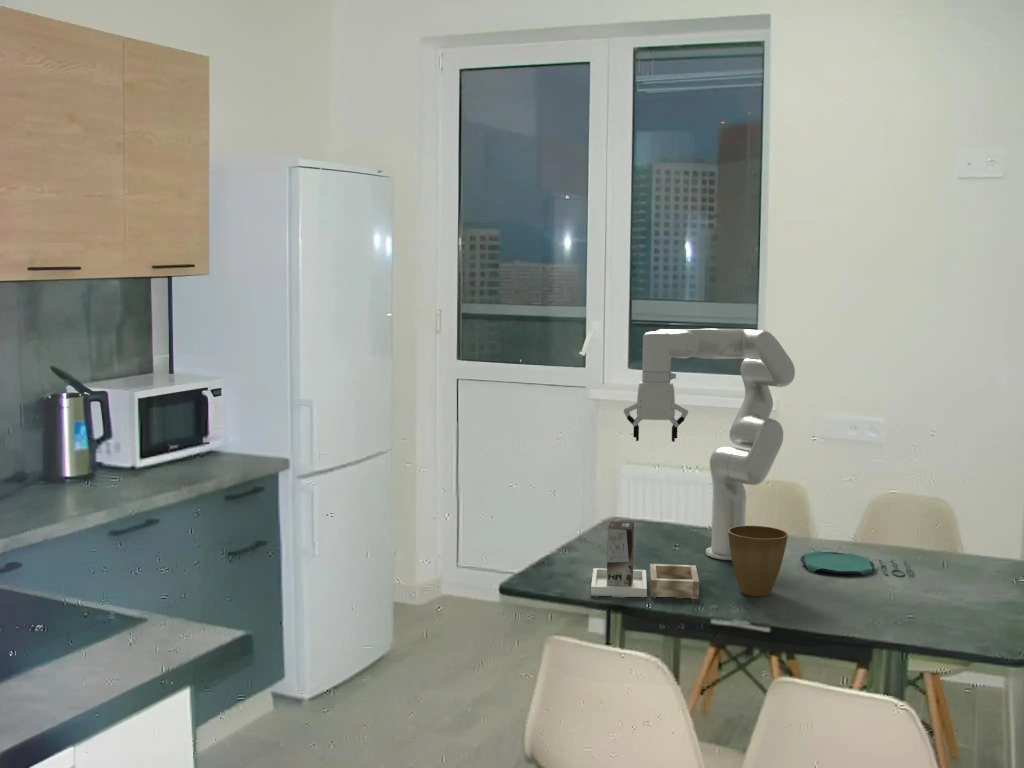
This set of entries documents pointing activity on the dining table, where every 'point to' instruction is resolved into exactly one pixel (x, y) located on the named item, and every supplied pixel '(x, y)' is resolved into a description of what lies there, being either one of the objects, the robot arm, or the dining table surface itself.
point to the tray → (602, 589)
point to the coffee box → (620, 554)
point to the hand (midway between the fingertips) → (655, 440)
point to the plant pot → (756, 557)
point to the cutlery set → (845, 563)
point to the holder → (674, 581)
